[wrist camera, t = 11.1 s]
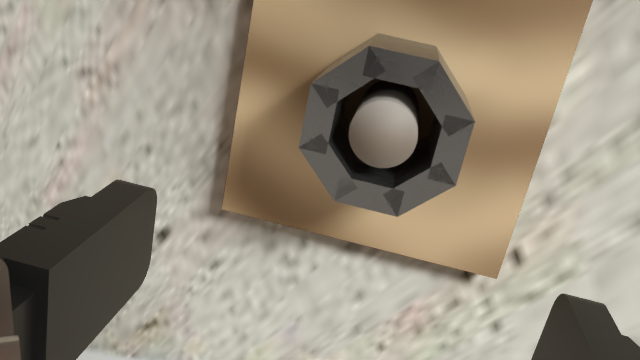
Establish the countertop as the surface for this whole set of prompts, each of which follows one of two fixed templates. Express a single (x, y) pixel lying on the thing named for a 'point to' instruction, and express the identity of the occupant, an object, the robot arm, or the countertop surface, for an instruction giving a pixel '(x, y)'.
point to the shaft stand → (403, 117)
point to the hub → (430, 152)
